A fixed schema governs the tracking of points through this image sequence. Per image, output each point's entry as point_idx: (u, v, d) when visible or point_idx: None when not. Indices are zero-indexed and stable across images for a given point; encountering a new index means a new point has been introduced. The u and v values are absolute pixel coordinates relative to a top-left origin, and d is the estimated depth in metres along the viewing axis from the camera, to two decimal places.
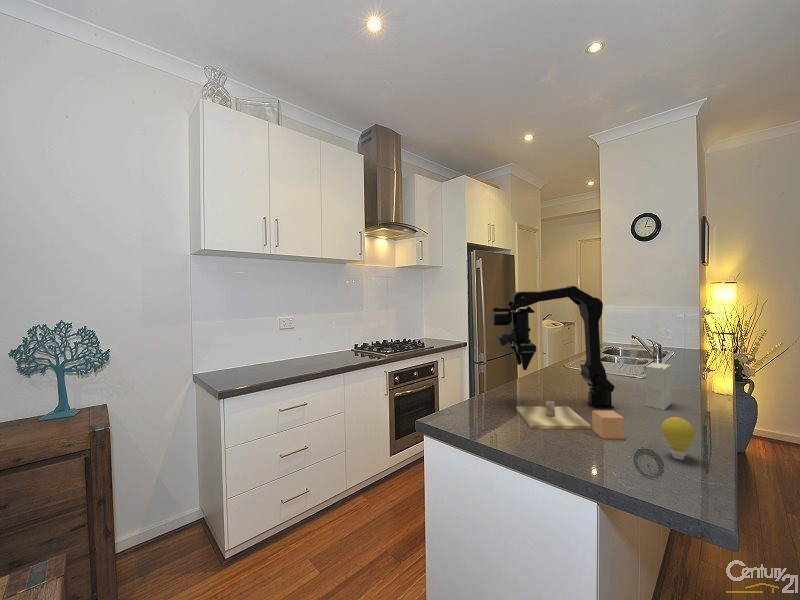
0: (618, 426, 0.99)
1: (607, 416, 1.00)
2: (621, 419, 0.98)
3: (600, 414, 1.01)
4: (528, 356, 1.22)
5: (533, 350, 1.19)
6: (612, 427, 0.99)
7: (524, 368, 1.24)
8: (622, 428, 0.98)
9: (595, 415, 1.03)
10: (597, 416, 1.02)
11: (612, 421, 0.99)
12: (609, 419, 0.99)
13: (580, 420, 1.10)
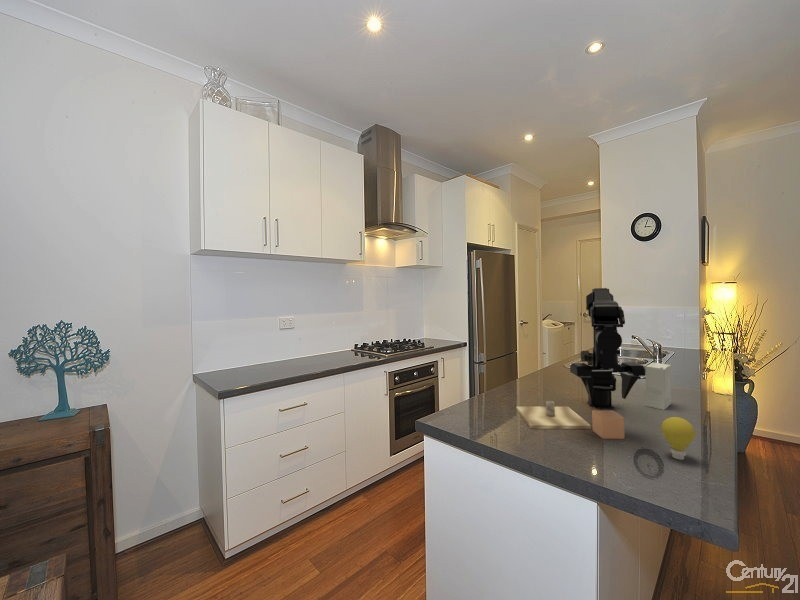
0: (618, 426, 0.99)
1: (607, 416, 1.00)
2: (621, 419, 0.98)
3: (600, 414, 1.01)
4: None
5: (576, 374, 1.00)
6: (612, 427, 0.99)
7: (590, 396, 1.02)
8: (622, 428, 0.98)
9: (595, 415, 1.03)
10: (597, 416, 1.02)
11: (612, 421, 0.99)
12: (609, 419, 0.99)
13: (580, 420, 1.10)
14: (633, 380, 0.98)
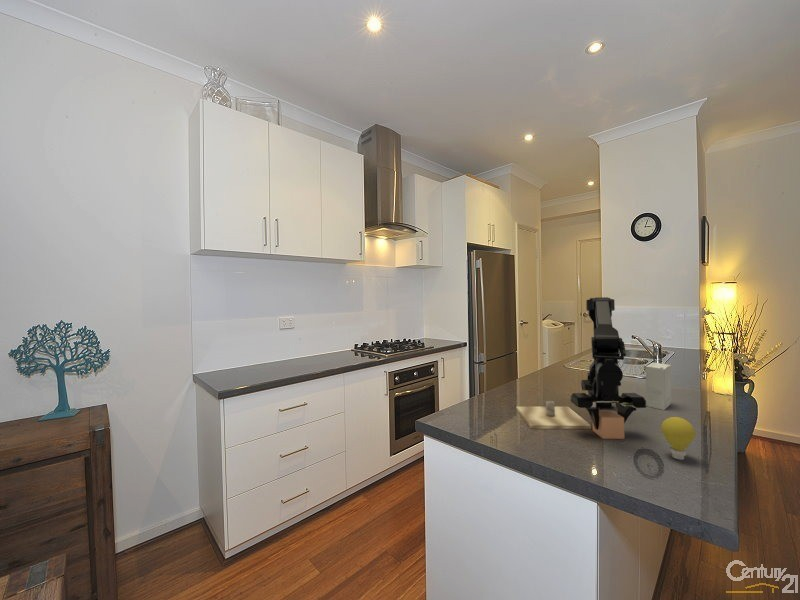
0: (618, 426, 0.99)
1: (607, 416, 1.00)
2: (621, 419, 0.98)
3: (600, 414, 1.01)
4: None
5: (577, 405, 1.00)
6: (612, 427, 0.99)
7: (596, 427, 1.02)
8: (622, 428, 0.98)
9: None
10: None
11: (612, 421, 0.99)
12: (609, 419, 0.99)
13: (580, 420, 1.10)
14: (628, 412, 0.99)
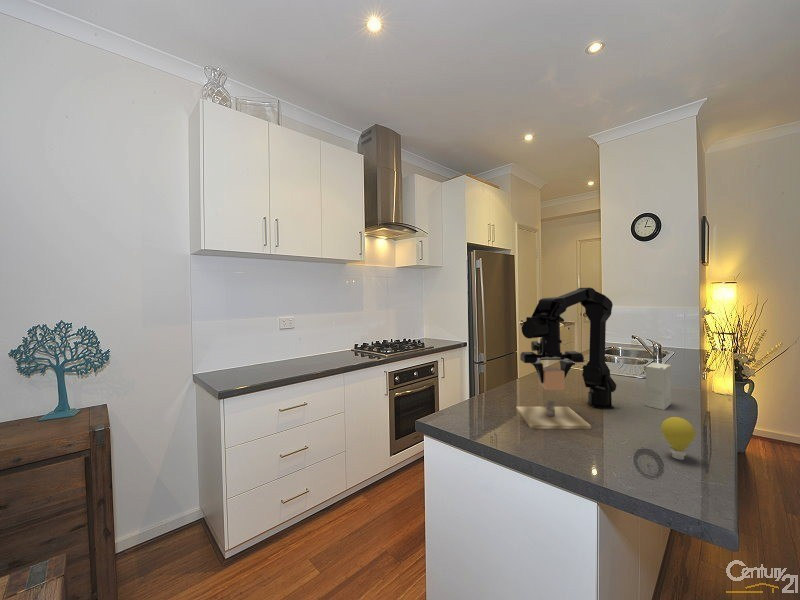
0: (559, 379, 1.12)
1: (550, 370, 1.13)
2: (562, 373, 1.12)
3: (545, 369, 1.15)
4: None
5: (524, 361, 1.14)
6: (554, 380, 1.12)
7: (541, 381, 1.15)
8: (563, 380, 1.12)
9: None
10: None
11: (554, 374, 1.12)
12: (551, 373, 1.12)
13: (580, 420, 1.10)
14: (568, 367, 1.12)
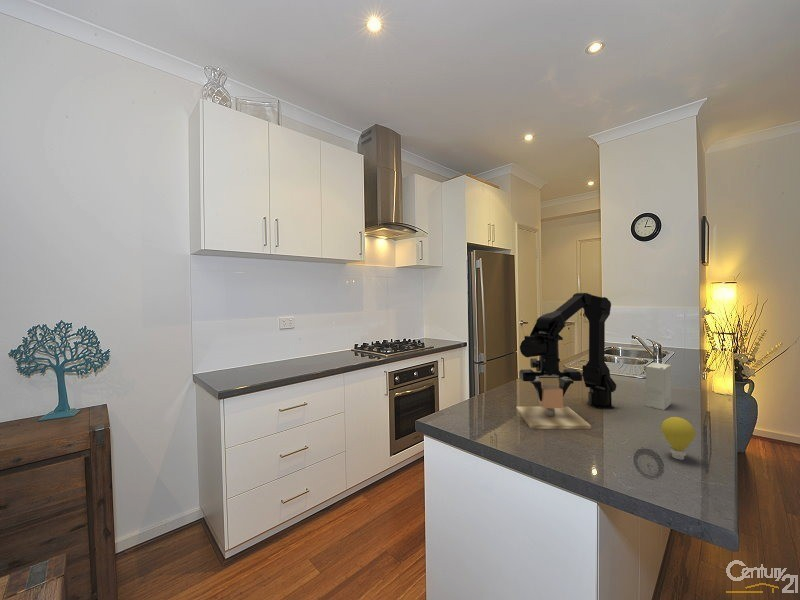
0: (558, 397, 1.12)
1: (549, 389, 1.14)
2: (560, 391, 1.12)
3: (544, 387, 1.15)
4: None
5: (522, 379, 1.14)
6: (552, 398, 1.13)
7: (540, 399, 1.16)
8: (561, 399, 1.12)
9: None
10: None
11: (552, 393, 1.13)
12: (550, 391, 1.13)
13: (580, 420, 1.10)
14: (567, 385, 1.13)
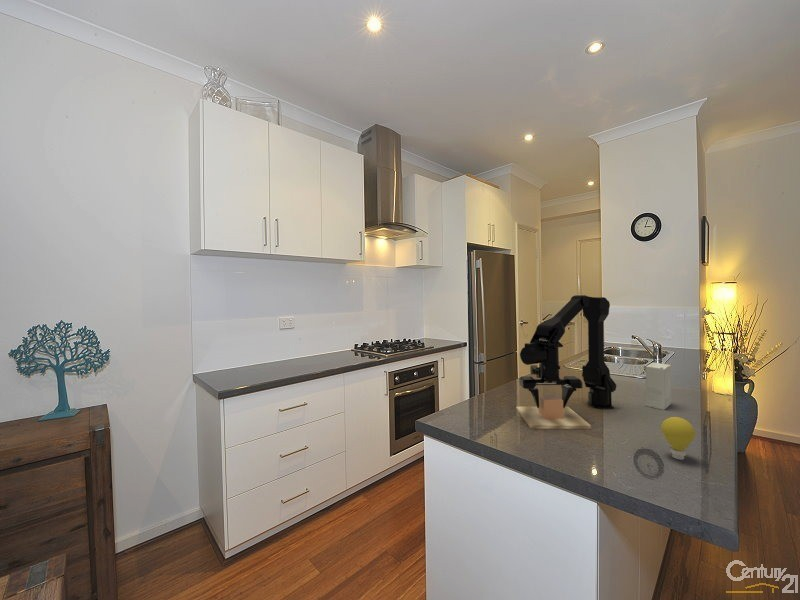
0: (558, 407, 1.13)
1: (549, 399, 1.14)
2: (560, 401, 1.12)
3: (544, 397, 1.15)
4: None
5: (522, 386, 1.14)
6: (553, 408, 1.13)
7: (537, 406, 1.16)
8: (561, 409, 1.12)
9: (540, 398, 1.17)
10: (541, 399, 1.16)
11: (553, 403, 1.13)
12: (550, 401, 1.13)
13: (580, 420, 1.10)
14: (570, 392, 1.12)
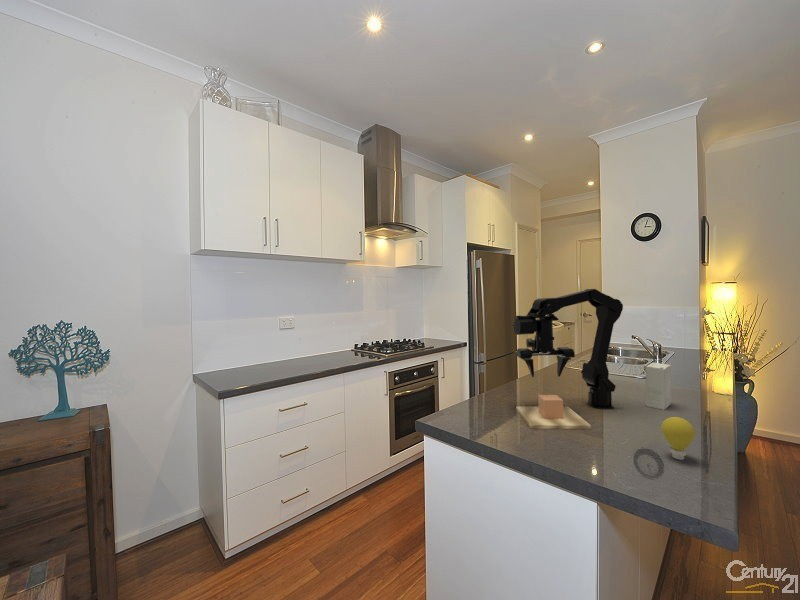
0: (558, 407, 1.13)
1: (549, 399, 1.14)
2: (560, 401, 1.12)
3: (544, 397, 1.15)
4: None
5: (520, 356, 1.23)
6: (553, 408, 1.13)
7: (532, 375, 1.25)
8: (561, 409, 1.12)
9: (540, 398, 1.17)
10: (541, 399, 1.16)
11: (553, 403, 1.13)
12: (550, 401, 1.13)
13: (580, 420, 1.10)
14: (565, 361, 1.21)
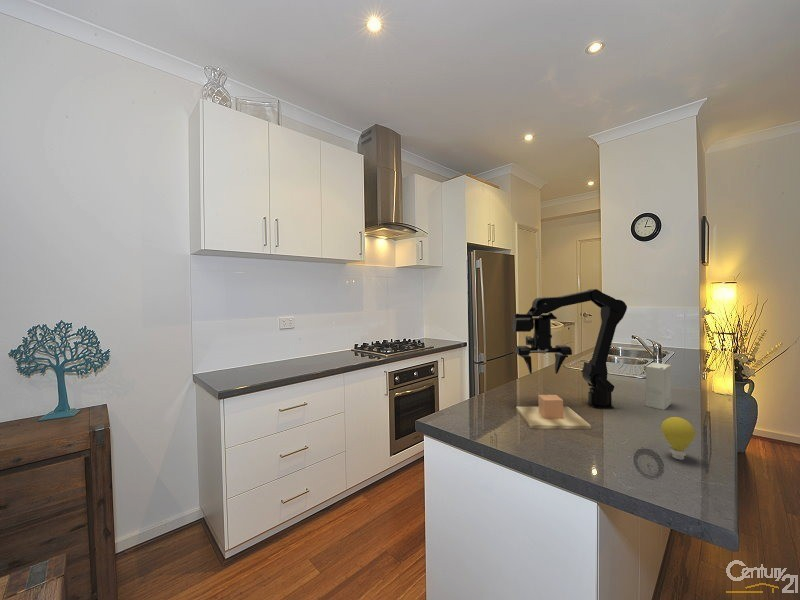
0: (558, 407, 1.13)
1: (549, 399, 1.14)
2: (560, 401, 1.12)
3: (544, 397, 1.15)
4: None
5: (518, 353, 1.27)
6: (553, 408, 1.13)
7: (530, 372, 1.29)
8: (561, 409, 1.12)
9: (540, 398, 1.17)
10: (541, 399, 1.16)
11: (553, 403, 1.13)
12: (550, 401, 1.13)
13: (580, 420, 1.10)
14: (562, 359, 1.25)
